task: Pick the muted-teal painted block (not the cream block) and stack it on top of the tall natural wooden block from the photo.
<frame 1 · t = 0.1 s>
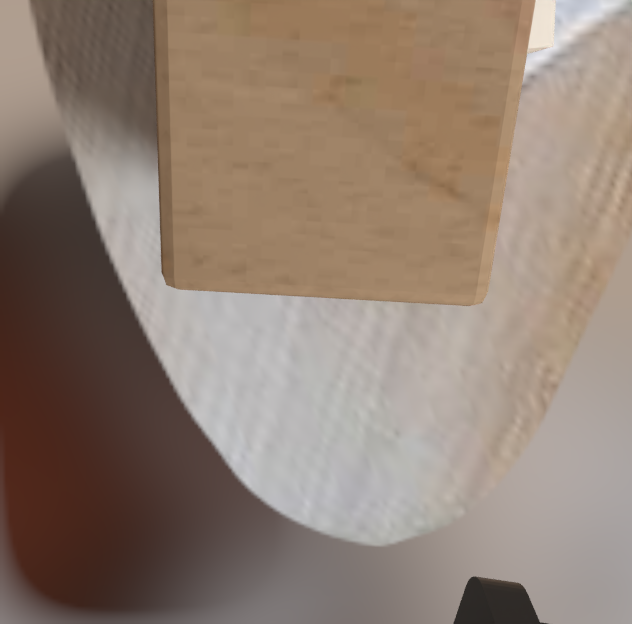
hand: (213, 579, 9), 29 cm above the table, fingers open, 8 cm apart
cream block: (470, 14, 33), on the table
wooden block: (327, 119, 35), on the table
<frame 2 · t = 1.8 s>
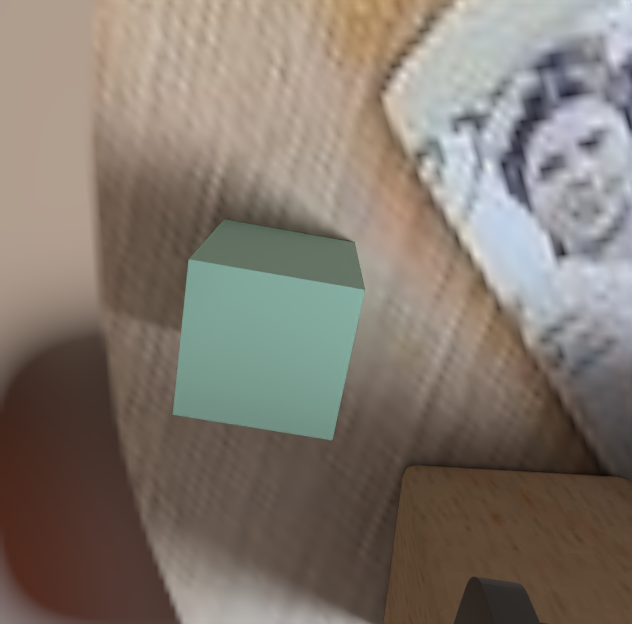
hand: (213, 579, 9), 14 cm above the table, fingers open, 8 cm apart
teal block: (279, 292, 22), on the table
wooden block: (496, 553, 27), on the table
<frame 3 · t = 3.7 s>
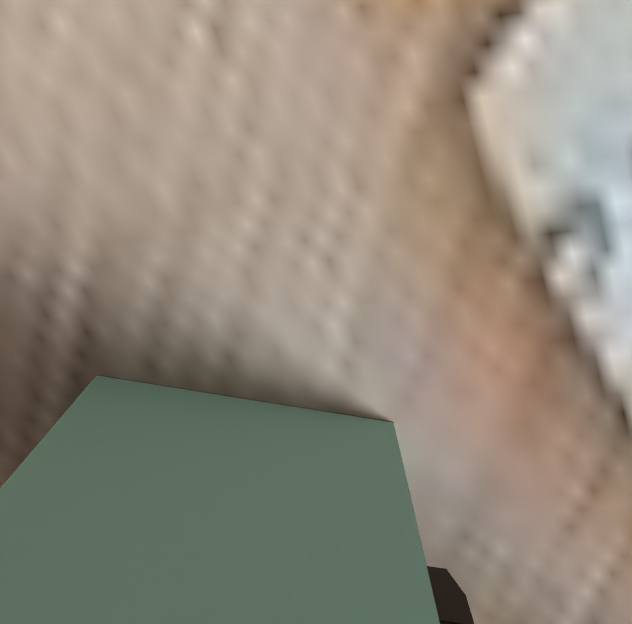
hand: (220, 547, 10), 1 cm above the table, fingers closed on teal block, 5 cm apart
teal block: (228, 520, 10), on the table, touching gripper
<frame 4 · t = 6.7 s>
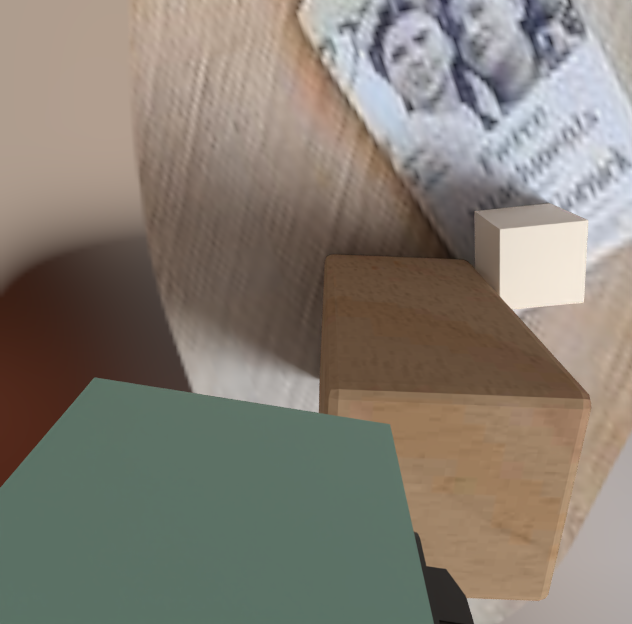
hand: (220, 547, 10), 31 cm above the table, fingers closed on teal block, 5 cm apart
teal block: (226, 521, 10), point 30 cm above the table, touching gripper
cream block: (511, 243, 39), on the table
wooden block: (390, 321, 41), on the table
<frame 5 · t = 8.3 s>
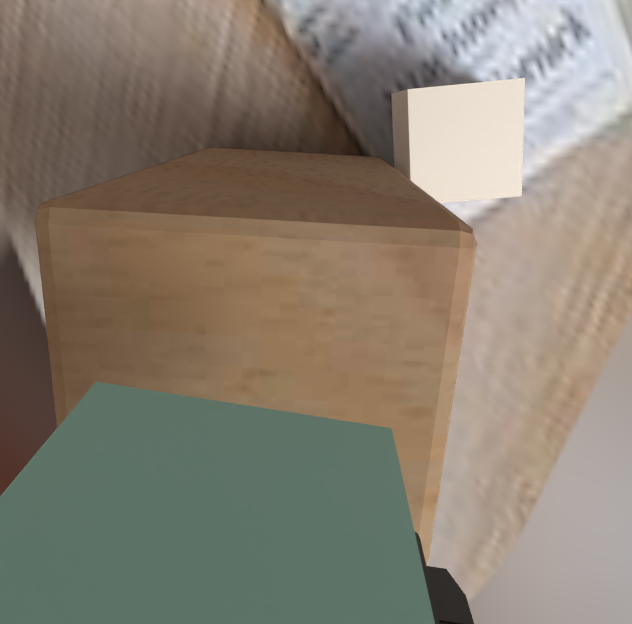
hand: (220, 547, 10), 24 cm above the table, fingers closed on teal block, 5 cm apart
teal block: (227, 525, 10), point 24 cm above the table, touching gripper
cream block: (439, 138, 31), on the table
wooden block: (291, 240, 33), on the table
when the fingers open (22 cm above the table, at t = 9.7 s): teal block drops 1 cm, resting on wooden block.
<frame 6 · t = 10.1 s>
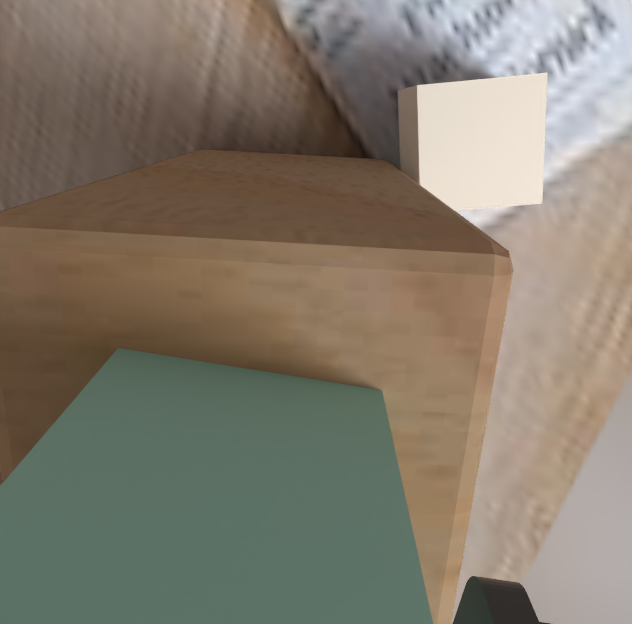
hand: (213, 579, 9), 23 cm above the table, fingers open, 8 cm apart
teal block: (235, 480, 12), point 20 cm above the table, touching wooden block
cream block: (449, 139, 29), on the table
wooden block: (289, 249, 31), on the table, touching teal block
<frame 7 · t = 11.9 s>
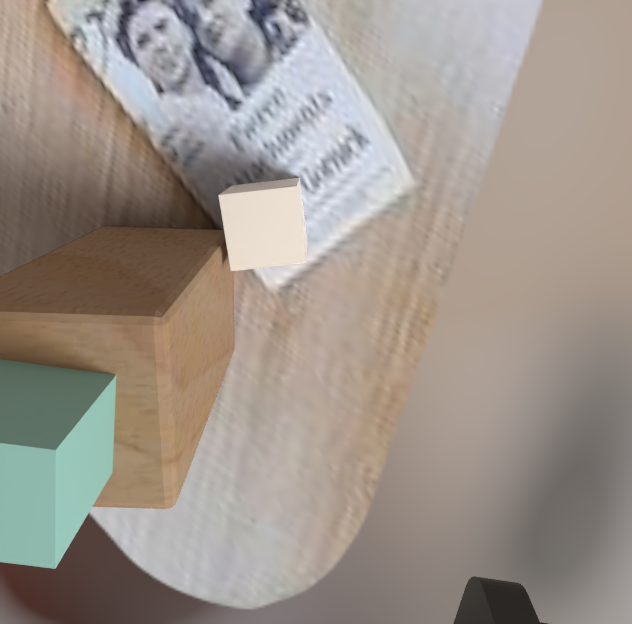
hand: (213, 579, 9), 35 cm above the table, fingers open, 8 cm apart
teal block: (58, 417, 26), point 20 cm above the table, touching wooden block
cream block: (270, 215, 43), on the table
wooden block: (171, 290, 45), on the table, touching teal block
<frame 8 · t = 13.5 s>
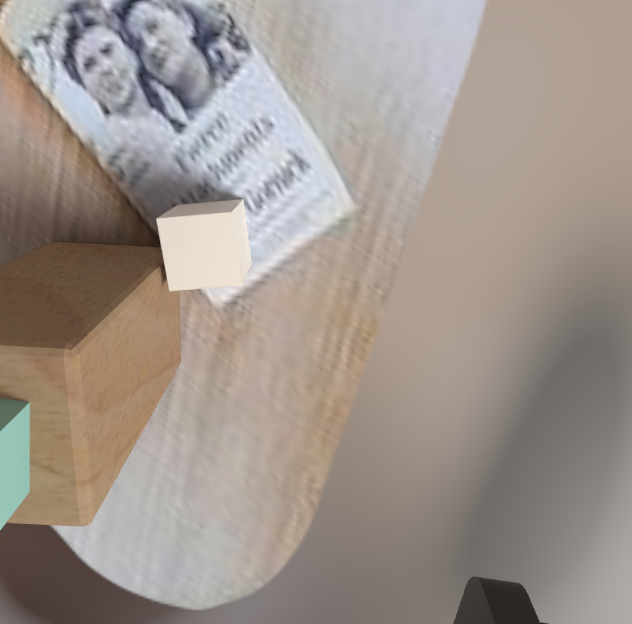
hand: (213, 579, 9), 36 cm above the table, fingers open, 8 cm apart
cream block: (215, 234, 44), on the table
wooden block: (119, 303, 46), on the table, touching teal block
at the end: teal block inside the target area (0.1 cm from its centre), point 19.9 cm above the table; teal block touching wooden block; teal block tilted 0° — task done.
